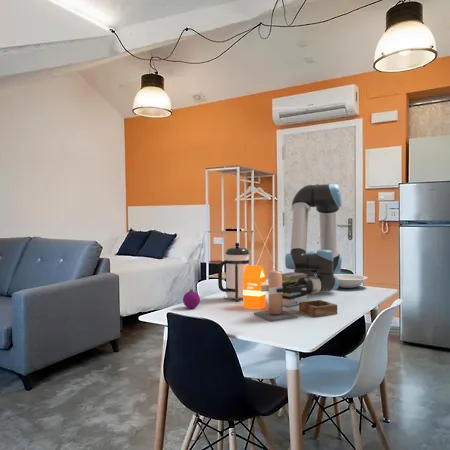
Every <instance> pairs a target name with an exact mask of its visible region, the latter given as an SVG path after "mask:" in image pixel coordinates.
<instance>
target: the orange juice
mask: <svg viewBox="0 0 450 450" xmlns="http://www.w3.org/2000/svg"><path fill="white" fill-rule="evenodd" d="M261 285H267V284H266V274H265V271H264V267H263V265H252V264H249V265H246V267H245V272H244V276H243V298H242V299H243V300H242V301H243V302H242V304H243V306H242V307H243V309H244V308H247V309H253V310H254V309H255V310H256V309H257V310H261V309H263V308H265V307H266V306H267V302H266V299H267V297H266V295H267V291H265V292H261Z"/></svg>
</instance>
